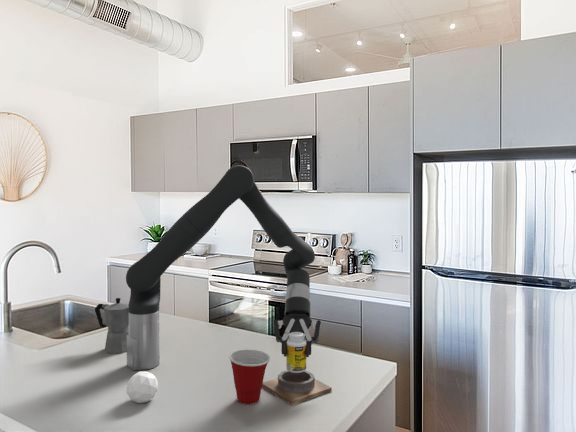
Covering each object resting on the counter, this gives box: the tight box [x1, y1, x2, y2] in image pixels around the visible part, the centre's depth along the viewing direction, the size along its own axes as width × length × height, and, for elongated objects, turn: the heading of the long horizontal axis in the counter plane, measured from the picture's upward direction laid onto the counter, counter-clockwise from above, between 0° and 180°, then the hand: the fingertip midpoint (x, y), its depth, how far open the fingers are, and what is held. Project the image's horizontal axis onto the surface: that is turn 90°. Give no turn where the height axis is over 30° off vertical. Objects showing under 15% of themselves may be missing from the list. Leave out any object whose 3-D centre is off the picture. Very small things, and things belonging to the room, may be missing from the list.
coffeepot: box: [94, 297, 129, 355], centre depth 156 cm, size 15×9×18 cm, turn 79°
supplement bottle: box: [286, 332, 307, 373], centre depth 126 cm, size 6×6×10 cm
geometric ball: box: [126, 370, 159, 404], centre depth 118 cm, size 8×8×8 cm
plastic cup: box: [228, 348, 271, 405], centre depth 119 cm, size 11×11×12 cm
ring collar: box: [262, 369, 333, 406], centre depth 126 cm, size 14×14×4 cm
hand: (296, 355), depth 124 cm, fingers closed on supplement bottle, 5 cm apart
